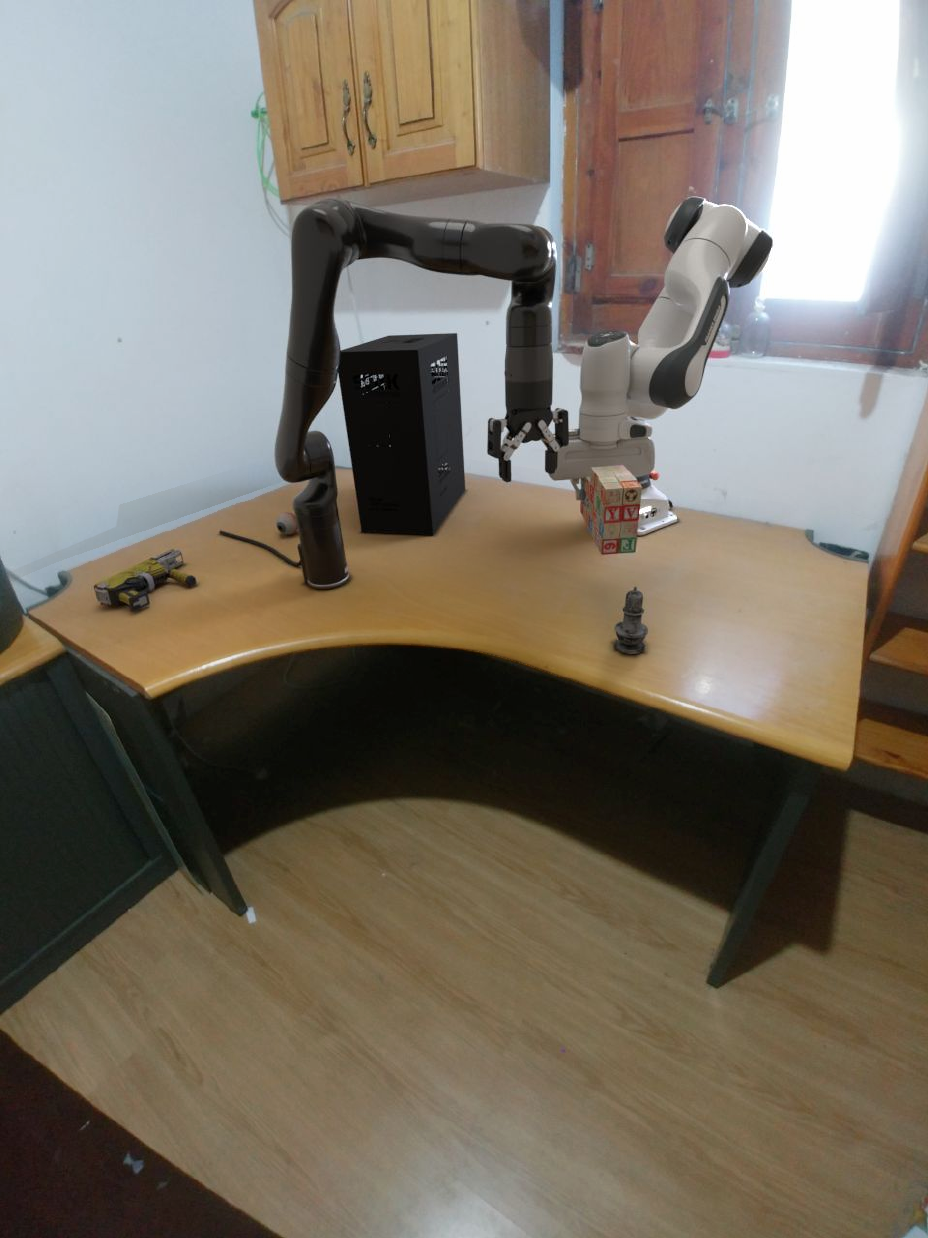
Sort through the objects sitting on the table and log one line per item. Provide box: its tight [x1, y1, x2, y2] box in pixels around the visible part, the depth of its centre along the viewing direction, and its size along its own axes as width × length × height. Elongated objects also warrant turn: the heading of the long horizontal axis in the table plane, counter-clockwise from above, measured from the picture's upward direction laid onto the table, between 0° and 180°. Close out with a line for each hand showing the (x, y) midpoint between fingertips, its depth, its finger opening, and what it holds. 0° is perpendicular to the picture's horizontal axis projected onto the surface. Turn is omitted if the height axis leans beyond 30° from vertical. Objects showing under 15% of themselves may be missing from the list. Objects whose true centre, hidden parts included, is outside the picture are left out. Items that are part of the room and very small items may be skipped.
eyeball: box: [275, 511, 298, 536], centre depth 163 cm, size 6×6×6 cm
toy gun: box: [93, 548, 197, 612], centre depth 139 cm, size 5×24×15 cm
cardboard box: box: [338, 332, 466, 536], centre depth 166 cm, size 38×20×45 cm, turn 167°
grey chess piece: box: [613, 585, 649, 655], centre depth 105 cm, size 6×6×12 cm
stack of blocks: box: [579, 465, 642, 556], centre depth 113 cm, size 21×6×12 cm, turn 1°
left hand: (528, 476), depth 103 cm, fingers open, 8 cm apart
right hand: (598, 497), depth 120 cm, fingers closed on stack of blocks, 6 cm apart
